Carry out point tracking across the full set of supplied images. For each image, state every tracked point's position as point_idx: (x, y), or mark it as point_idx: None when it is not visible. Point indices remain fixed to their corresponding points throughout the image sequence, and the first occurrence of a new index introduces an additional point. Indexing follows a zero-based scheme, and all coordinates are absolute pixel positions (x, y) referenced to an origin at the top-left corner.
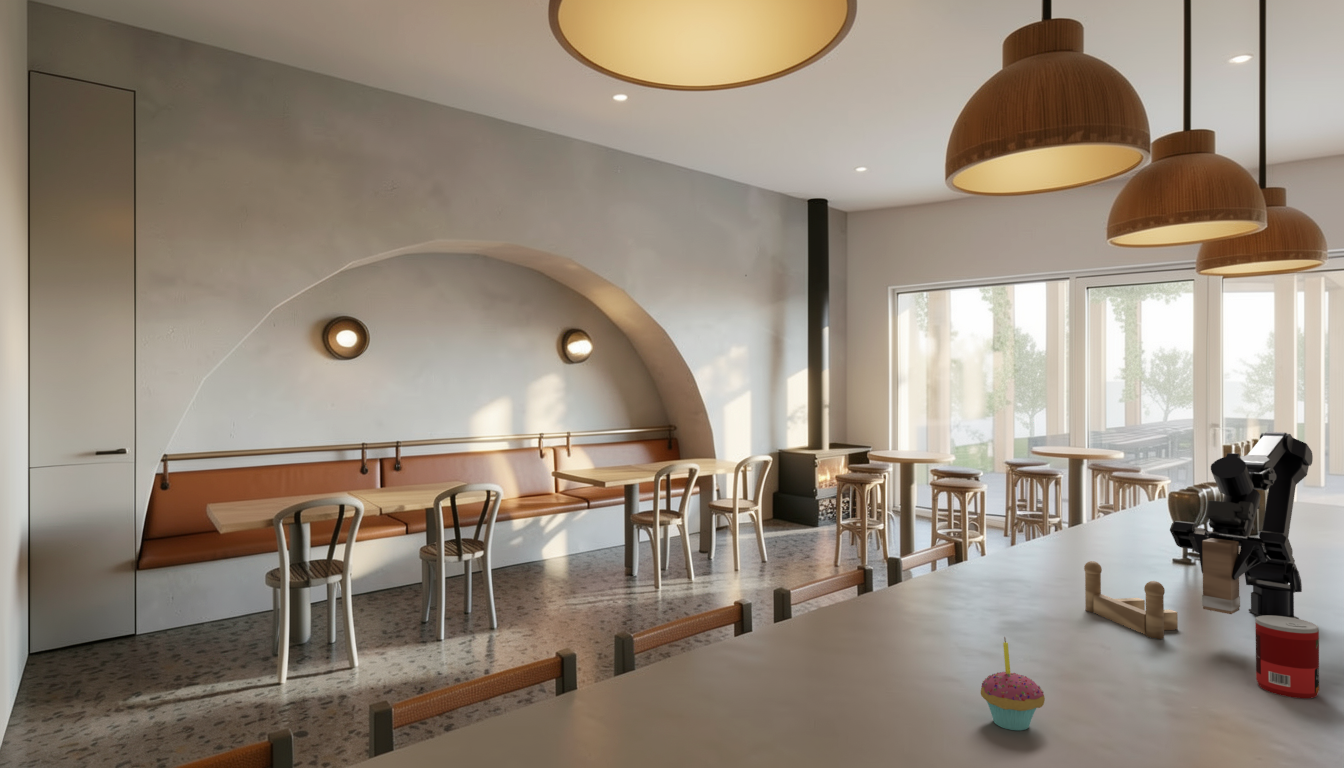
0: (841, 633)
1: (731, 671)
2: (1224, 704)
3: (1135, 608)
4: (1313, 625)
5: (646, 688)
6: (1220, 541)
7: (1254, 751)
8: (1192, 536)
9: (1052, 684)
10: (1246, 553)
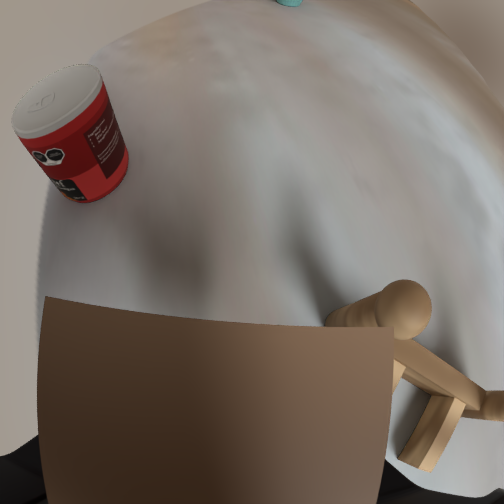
0: (475, 93)
1: (422, 25)
2: (165, 79)
3: (413, 358)
4: (16, 113)
5: (412, 8)
6: (197, 476)
7: (143, 30)
8: (485, 496)
9: (315, 47)
10: (32, 453)
